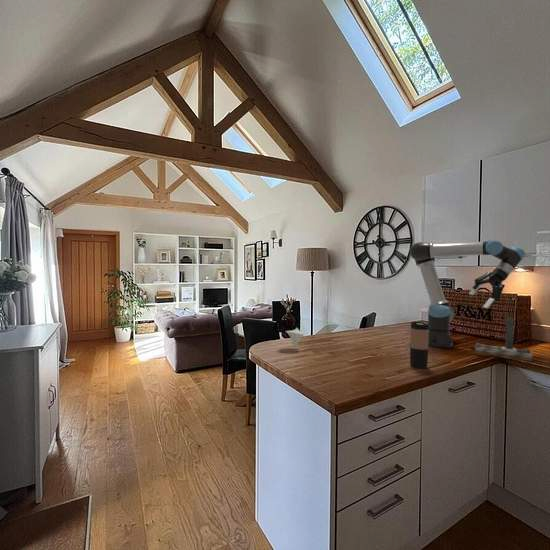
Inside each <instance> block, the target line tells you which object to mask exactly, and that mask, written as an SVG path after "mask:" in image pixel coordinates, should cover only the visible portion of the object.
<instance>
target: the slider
mask: <svg viewBox="0 0 550 550" xmlns="http://www.w3.org/2000/svg"><path fill="white" fill-rule="evenodd" d="M515 323H516V322H515V319H514V318H513V317H507V318H505V343H504V344H505V345H504V346H501V347H502V350H508V351H516V352H517V350H516V349H517V348H515V347H514V326H515Z"/></svg>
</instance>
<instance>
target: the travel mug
mask: <svg viewBox="0 0 550 550" xmlns="http://www.w3.org/2000/svg"><path fill="white" fill-rule="evenodd" d="M409 338H410V341H409V342H410V343H409V354H410V355H409V356H410V357H409V359H410V361H409V363H410V364H409V365H410V367H411V368H412V367H413V368H416V369H427V368H428V360H429V345H428V339H429V324H428V323H425V322H423V321H411V322H410V337H409Z"/></svg>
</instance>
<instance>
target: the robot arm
mask: <svg viewBox="0 0 550 550" xmlns="http://www.w3.org/2000/svg"><path fill="white" fill-rule="evenodd" d="M409 255H410V257H411V259H413V260H414V263H415V264H416V266H417V268H419V270H420V272H421V275H422V279H423V281H424V285H425V288H426V291H427V294H428V298H429V301H430V303H429V305H428V310H427V313H428V315H427V316H428V317H427V324H429V339H428V347H429V346H430V347H436V348H445V349H446V348H452V347H454V346H453V345H454V343H453V339H452V336H451V332H450V327H451V323H452V321H453V320H454V317H455V312H454V310H453V309H452V307H451V304H450V301H449V300H447V299H446V297H445V294H444V290H443V288H442V285H441V282H440V281H441V280H440V279H439V275H438V272H437V269H436V267H435V262H436V258H435V257H458V256H459V257H461V256H466V257H467V256H492V257H494V258H496V259H498V260H499V261H500V262H499V263H498V264H497V265H496V267H495V268H494V269H493V271H486V272H485V273H484V274H483V275H480V276H479V277H477V278H475V279H474V285H473V286H472V288H471V290H470V291H469V293H468V294H469V295H470V296H475V294H476V293H477V292H478V290H479V289H480V288H481V285H484V284H490V286H491V289H492V290H491V297H489V298H488V299H487V301H486V302H485V303H484V305H482V307H483V308H485V309H488V308H490V306H491V305H493V304H494V302H496V301H497V302H499V301H500V300H501V296H502V294H503V289H504V288H505V287H506V285H505V284H502V283H503V282H504V281H506V279H507V278H508V277H509V275H511V273H512V272H513V271H514V270H515V268H517V266H518V265H519V264H520V262H521V261H522V260H523V258H524V257H525V256H526V251H525V250H523V248H520V247H517V246H513V247H511V248H509V247H507V246H505V245H503V243H502V242H501V241H499V240H495V239H494V240H492V239H488V240H486V241H471V242H470V241H468V242H467V241H466V242H452V243H451V242H450V243H449V242H448V243H433V242H415V243H413V244H412V245H411V246H410V249H409Z"/></svg>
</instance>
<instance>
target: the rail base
mask: <svg viewBox="0 0 550 550" xmlns="http://www.w3.org/2000/svg"><path fill="white" fill-rule="evenodd" d="M502 347H503V346H497V345H495V346H493V345H487V344H482V343H480V342H476V343H475V345H474V353H479V354H487V355H494V356H499V357H498V358H503V359H510V360H516V359H519V360H518V361H523V360H529V361H528V362H530V361H532V362H533V354H532V353H531V350H530V349H529V348H523V349H520V348H516V350H517V352H516V351H508V350H502ZM479 354H478V355H479ZM487 355H486V356H487ZM494 356H493V357H494Z"/></svg>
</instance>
